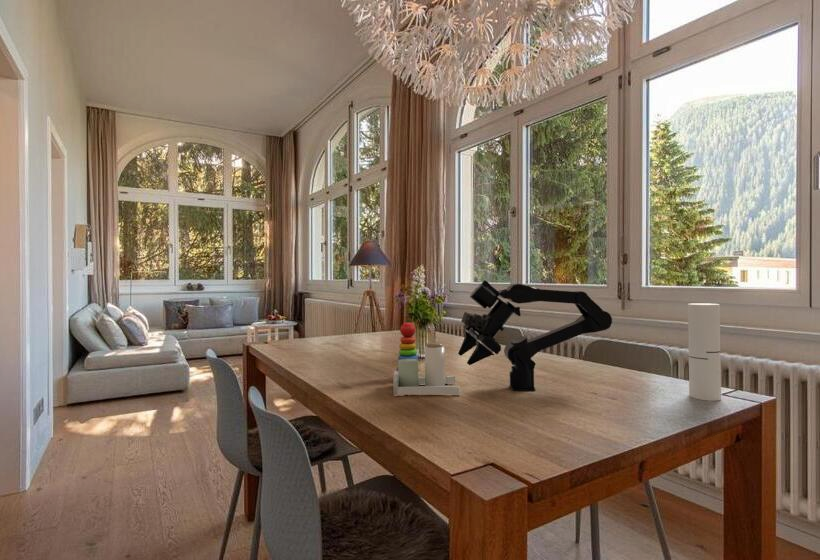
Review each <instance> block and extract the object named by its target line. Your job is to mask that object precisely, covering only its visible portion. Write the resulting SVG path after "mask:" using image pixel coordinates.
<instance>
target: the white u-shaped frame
mask: <svg viewBox="0 0 820 560" xmlns="http://www.w3.org/2000/svg"><path fill="white" fill-rule="evenodd" d="M392 379H393V380H392V384H393V385H392V387H393V388H392V389H393V390H392V391H393V392H392V393H393V395H397V394H454V395H460V396H461V386H459V385H458V386H457V385H445V386H414V387H399V386H398V384H399V377H398V371H396V370H394V371H393V378H392ZM424 383H425V376H420V377H419V384H424ZM445 383H455V384H456V376H455V375H447V376H446V375H445Z"/></svg>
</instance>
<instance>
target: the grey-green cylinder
mask: <svg viewBox="0 0 820 560" xmlns="http://www.w3.org/2000/svg"><path fill="white" fill-rule="evenodd" d="M418 363H419V359H400V360H398V361H397V368H398V374H399V386H398V387H414V386H419V374H420V369H419V365H418Z"/></svg>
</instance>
